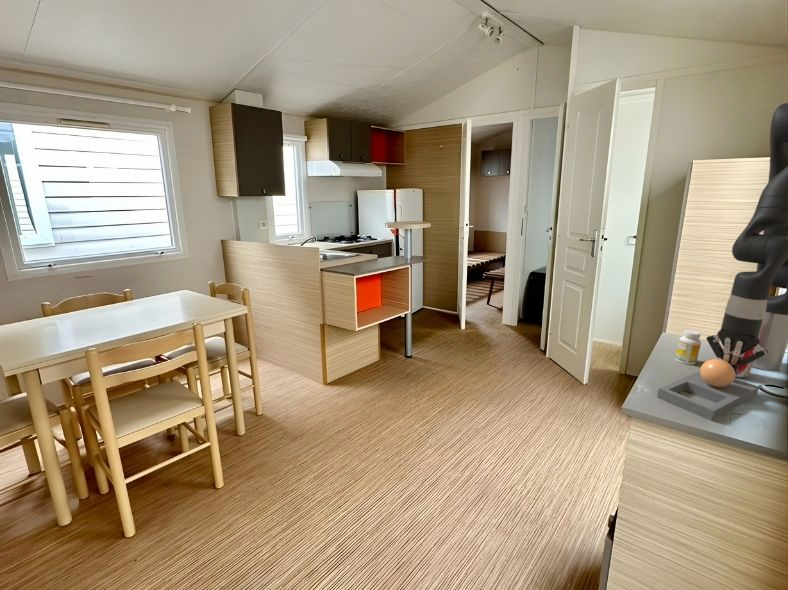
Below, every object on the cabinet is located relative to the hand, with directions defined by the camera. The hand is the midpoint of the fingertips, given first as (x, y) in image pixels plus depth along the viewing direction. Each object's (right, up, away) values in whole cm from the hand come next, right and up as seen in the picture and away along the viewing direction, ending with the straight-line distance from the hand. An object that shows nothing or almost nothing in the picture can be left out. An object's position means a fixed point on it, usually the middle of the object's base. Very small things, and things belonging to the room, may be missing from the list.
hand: (727, 375), depth 107 cm
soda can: (+9, -1, +10) cm, 13 cm away
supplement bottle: (+1, +1, +17) cm, 17 cm away
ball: (-6, +1, -4) cm, 7 cm away
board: (-8, -5, -4) cm, 10 cm away
